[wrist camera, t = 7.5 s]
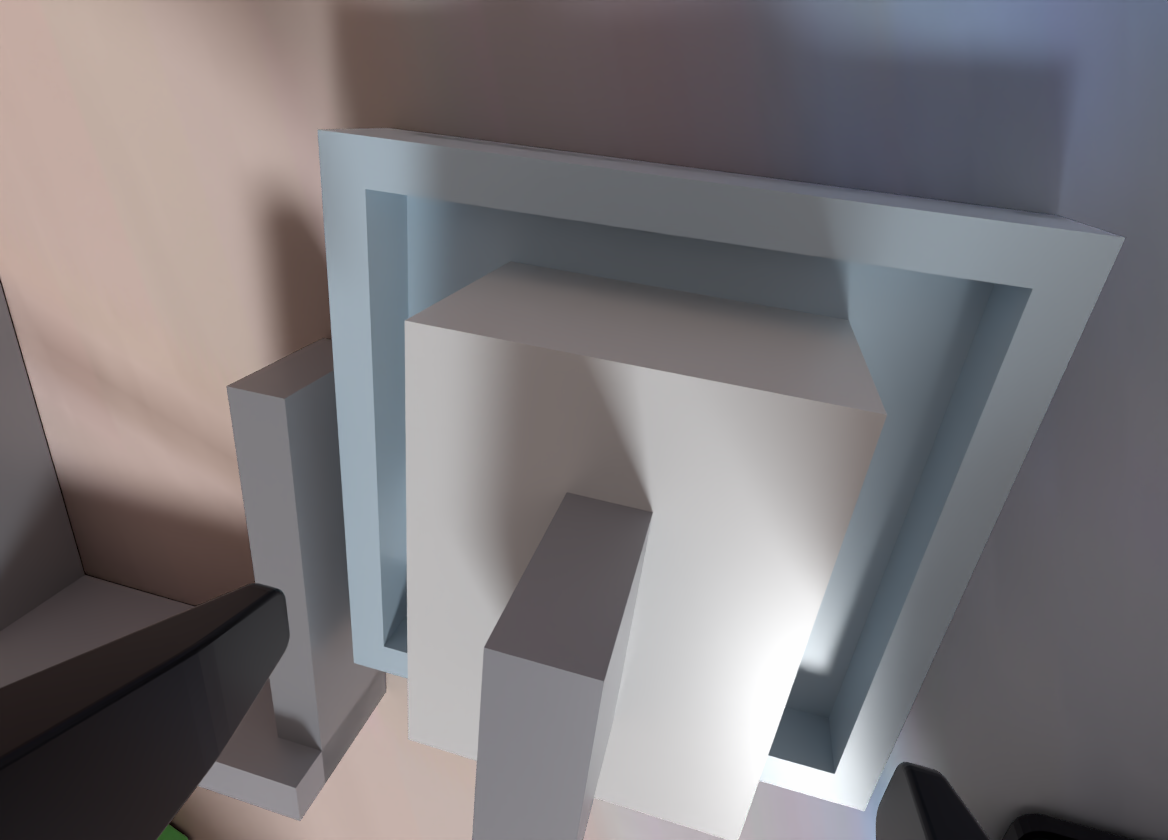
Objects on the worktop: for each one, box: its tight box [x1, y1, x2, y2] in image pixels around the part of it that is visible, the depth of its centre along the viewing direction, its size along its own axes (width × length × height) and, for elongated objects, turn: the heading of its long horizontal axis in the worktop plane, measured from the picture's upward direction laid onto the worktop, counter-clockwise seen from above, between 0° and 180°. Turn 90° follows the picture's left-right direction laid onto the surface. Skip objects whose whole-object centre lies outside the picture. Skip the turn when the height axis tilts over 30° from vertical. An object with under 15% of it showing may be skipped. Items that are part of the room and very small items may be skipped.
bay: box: [0, 284, 386, 821], centre depth 16 cm, size 11×11×4 cm
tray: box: [318, 128, 1125, 811], centre depth 13 cm, size 12×12×2 cm
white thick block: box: [405, 261, 887, 840], centre depth 10 cm, size 6×8×7 cm
